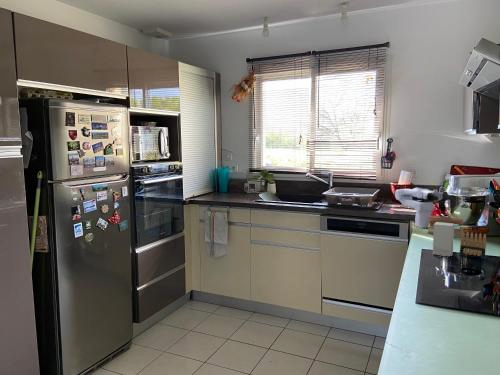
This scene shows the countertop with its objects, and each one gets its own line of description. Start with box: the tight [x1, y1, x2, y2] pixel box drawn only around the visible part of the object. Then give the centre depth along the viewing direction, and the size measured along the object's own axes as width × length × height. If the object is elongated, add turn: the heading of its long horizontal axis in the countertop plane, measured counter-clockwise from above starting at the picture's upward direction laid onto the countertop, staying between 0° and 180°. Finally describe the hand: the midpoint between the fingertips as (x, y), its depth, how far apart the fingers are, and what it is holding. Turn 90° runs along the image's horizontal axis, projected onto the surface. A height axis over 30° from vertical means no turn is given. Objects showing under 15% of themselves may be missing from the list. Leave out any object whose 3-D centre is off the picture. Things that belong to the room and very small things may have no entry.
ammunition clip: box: [459, 230, 487, 258], centre depth 187 cm, size 11×2×12 cm, turn 58°
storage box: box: [427, 223, 464, 238], centre depth 234 cm, size 12×18×4 cm, turn 65°
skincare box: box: [432, 222, 455, 256], centre depth 189 cm, size 8×7×16 cm
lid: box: [429, 215, 465, 225], centre depth 234 cm, size 13×18×1 cm
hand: (444, 198), depth 228 cm, fingers open, 7 cm apart
